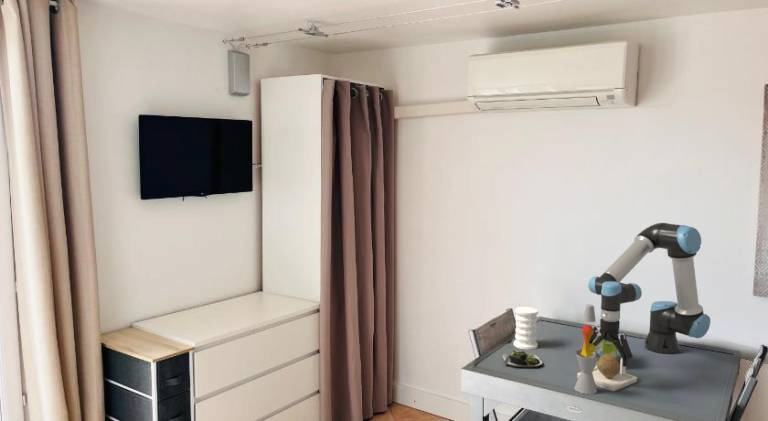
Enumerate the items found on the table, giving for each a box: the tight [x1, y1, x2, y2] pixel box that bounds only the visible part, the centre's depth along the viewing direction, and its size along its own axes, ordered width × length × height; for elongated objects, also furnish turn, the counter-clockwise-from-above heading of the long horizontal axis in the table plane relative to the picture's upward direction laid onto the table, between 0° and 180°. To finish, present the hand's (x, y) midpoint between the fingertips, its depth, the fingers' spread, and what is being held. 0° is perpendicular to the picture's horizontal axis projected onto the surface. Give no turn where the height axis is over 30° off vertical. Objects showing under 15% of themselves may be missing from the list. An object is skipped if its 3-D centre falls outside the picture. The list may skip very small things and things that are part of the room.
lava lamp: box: [574, 303, 599, 395], centre depth 235 cm, size 9×9×35 cm
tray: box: [576, 366, 638, 392], centre depth 247 cm, size 17×17×2 cm
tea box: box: [590, 325, 618, 367], centre depth 266 cm, size 15×10×15 cm, turn 168°
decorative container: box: [513, 306, 539, 351], centre depth 288 cm, size 12×12×18 cm
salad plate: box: [502, 349, 543, 370], centre depth 268 cm, size 19×18×5 cm
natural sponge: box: [597, 354, 620, 378], centre depth 247 cm, size 9×9×10 cm
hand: (607, 368), depth 247 cm, fingers open, 13 cm apart
